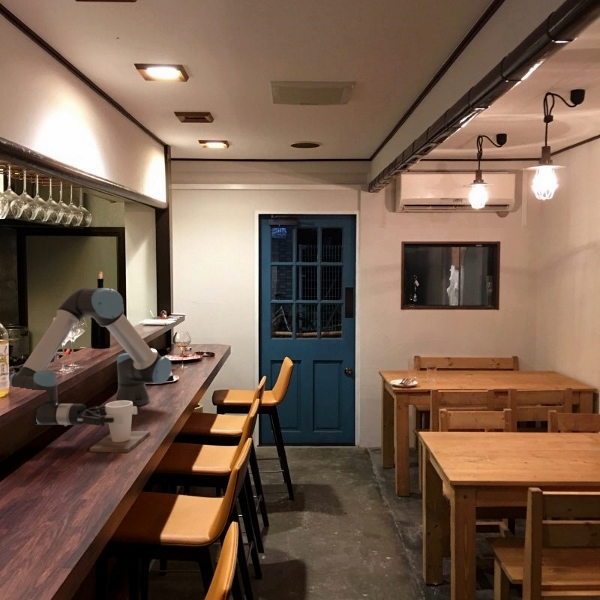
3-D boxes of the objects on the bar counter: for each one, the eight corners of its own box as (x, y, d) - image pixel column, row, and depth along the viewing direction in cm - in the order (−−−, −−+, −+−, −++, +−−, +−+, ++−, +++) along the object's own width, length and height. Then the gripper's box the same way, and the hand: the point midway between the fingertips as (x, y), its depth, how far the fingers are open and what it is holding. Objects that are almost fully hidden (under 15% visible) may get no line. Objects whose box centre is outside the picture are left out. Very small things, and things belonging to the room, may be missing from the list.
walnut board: (114, 433, 230) (114, 430, 230) (150, 434, 228) (150, 431, 228) (89, 451, 210) (89, 448, 210) (128, 452, 209) (128, 448, 208)
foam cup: (106, 444, 214) (104, 408, 212) (107, 436, 222) (105, 402, 221) (134, 441, 216) (132, 405, 215) (134, 434, 225) (132, 399, 224)
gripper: (88, 415, 233) (143, 416, 230) (56, 434, 209) (116, 435, 207) (87, 396, 232) (142, 396, 229) (54, 412, 209) (115, 413, 206)
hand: (130, 414), depth 218 cm, fingers open, 11 cm apart
